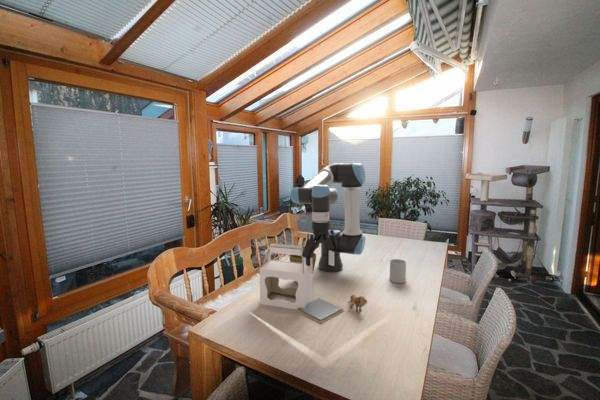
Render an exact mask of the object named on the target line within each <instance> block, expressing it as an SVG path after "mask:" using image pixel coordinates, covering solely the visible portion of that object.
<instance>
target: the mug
mask: <svg viewBox="0 0 600 400" xmlns="http://www.w3.org/2000/svg"><path fill="white" fill-rule="evenodd" d="M406 272H407V262H406V260H404V259H399V258H397V259H396V258H393V259H391V260H389V281H390V282H392V283H394V284H395V283H396V284H404V283H406V278H407V277H406V275H407V273H406Z"/></svg>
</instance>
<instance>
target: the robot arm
mask: <svg viewBox="0 0 600 400" xmlns="http://www.w3.org/2000/svg"><path fill="white" fill-rule="evenodd" d="M364 167H365V166H364V165H363V164H362V163H360V162H344V163H343V162H342V163H337V162H336V163H332V164H329V165H327V166H325V167H323V168H321V169H320V170H319V171H318V173H317V174H316V175H314V177H313V178H312V179H310V180H308V181H307V182H306V183H305V184H304V185H302V186H301V187H300V186H297V187H293V188H292V189H291V191H290V200H291V202H292V203H294V204H298V205H299V204H303V205H304V204H306V205H307V204H309V205H311V209H312V210H311V220H312V221H311V230H312V231H313V233H312V234H311V233H307V236H306V242H305V245H304V247H303V253H302V257H305V258H306V265H307V272H308V273H311V274H312V273H313V274H314V271H313V265H312V258H311V256H312V255H313V253H315V251H316V249H317V247H318V246H319V245H320V253H321V254H320V258H319V261H318V264H317V265H318V269H319V270H320V271H324V272H330V273H331V272H338V271H342V269H343V265H344V264H343V261H342V259H341V253H342V254H349V255H353V256H354V255H357V256H358V255H361V254H363V252H364V249H365V244H366V235H364V234H363V231H362V230H361V228H360V227H361V225H360V222H361V221H360V215H361V214H360V189H361V188H362V187H363V185H364V184H365V183H366V172H365V168H364ZM331 184H341V188H342V189H343V191H344V192H343V194H344V197H343V199H344V229H343V230H342V233H341V230H338V229H330V224H331V223H330V209H331V207H330V206H331V205H334V204H335V203H337V202H338V200H339V198H340V194H339V193H340V192H339V191H338V189H336V188H334V187H330V185H331ZM313 274H312V275H313Z"/></svg>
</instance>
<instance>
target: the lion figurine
mask: <svg viewBox="0 0 600 400" xmlns="http://www.w3.org/2000/svg"><path fill="white" fill-rule="evenodd" d="M349 298H350V299H349V301H348V302H347V303H348V304H350V305H349V307H350V308H353V306H352V305H355V312H356V313H359V311H360V312H362V307H364V306H365V305H366V304H367V303H368V300H367V299H366V298H365V296H358V297H357V296H356V295H355V294H354V293H353V294H351V295H350V297H349Z"/></svg>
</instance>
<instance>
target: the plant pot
mask: <svg viewBox="0 0 600 400" xmlns="http://www.w3.org/2000/svg"><path fill="white" fill-rule="evenodd" d="M288 257H289V262H295V263H302V257H301V256H299V255H290V254H288ZM311 258H312V265H313V273H312V275H313V274H314V270H315V266H316V263H317V262H316V261H317V254H316V253H315V252H314V253H313V255H312V256H311ZM295 282H296V284H298V282H297V281H295Z"/></svg>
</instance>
